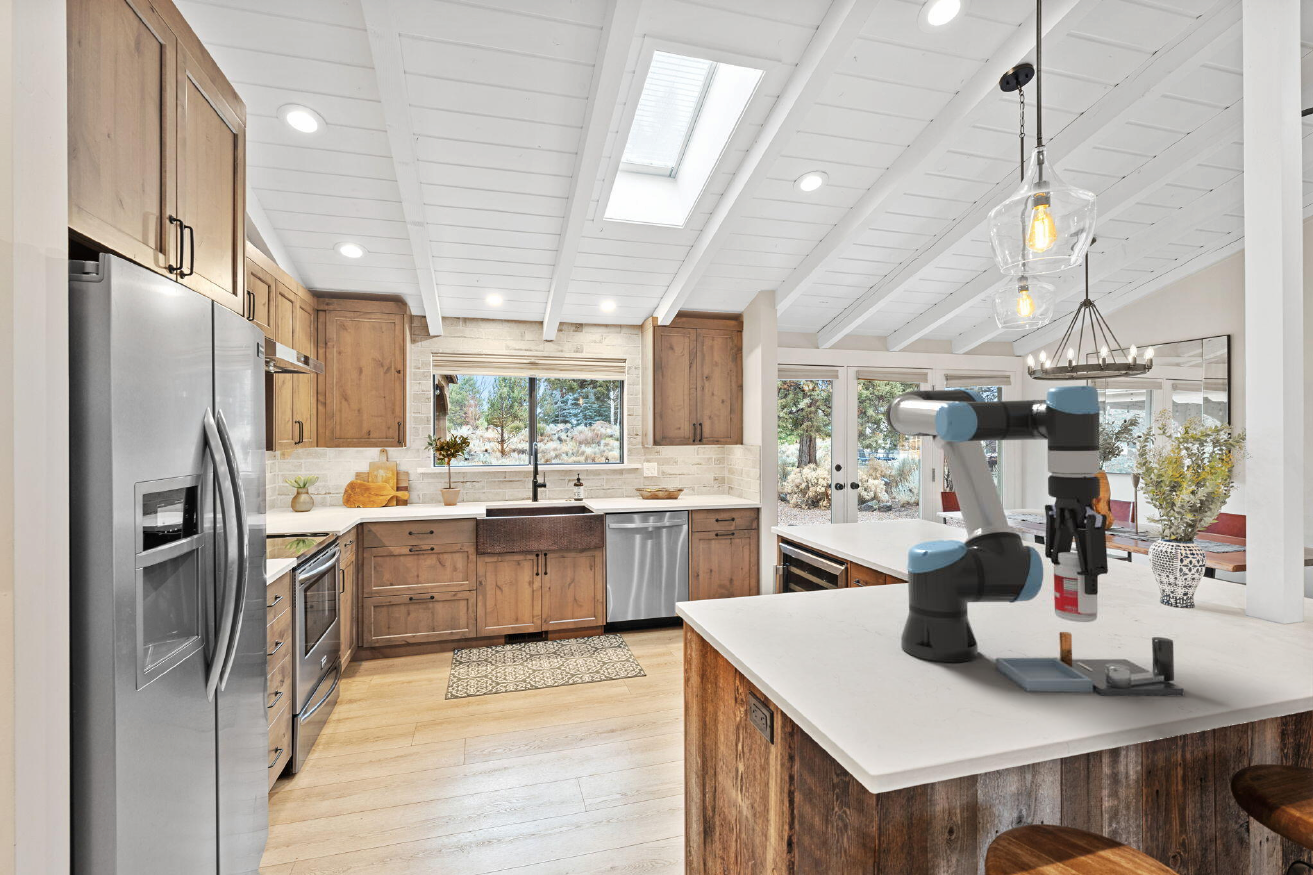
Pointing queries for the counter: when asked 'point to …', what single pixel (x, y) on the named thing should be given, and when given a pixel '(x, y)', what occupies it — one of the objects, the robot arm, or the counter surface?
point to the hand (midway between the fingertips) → (1075, 606)
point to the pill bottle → (1068, 589)
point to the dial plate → (1097, 673)
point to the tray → (1044, 675)
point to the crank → (1161, 672)
